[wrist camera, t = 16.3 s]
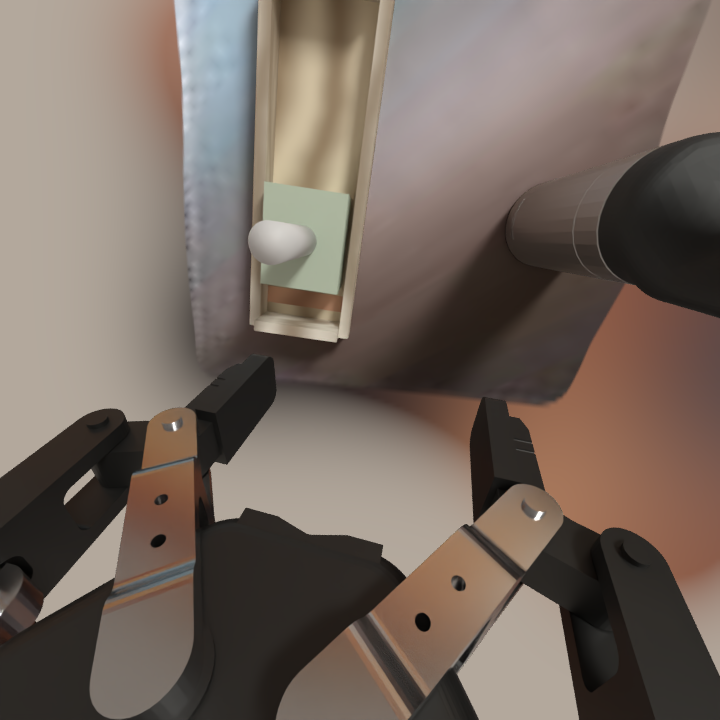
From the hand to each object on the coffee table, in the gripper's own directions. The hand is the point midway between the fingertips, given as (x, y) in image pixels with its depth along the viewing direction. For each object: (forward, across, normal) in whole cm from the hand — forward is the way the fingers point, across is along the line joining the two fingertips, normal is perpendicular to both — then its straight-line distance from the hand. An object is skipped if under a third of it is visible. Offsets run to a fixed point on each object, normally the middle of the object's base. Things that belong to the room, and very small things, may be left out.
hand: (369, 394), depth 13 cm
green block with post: (+28, +13, +1) cm, 31 cm away
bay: (+31, +13, -5) cm, 34 cm away
